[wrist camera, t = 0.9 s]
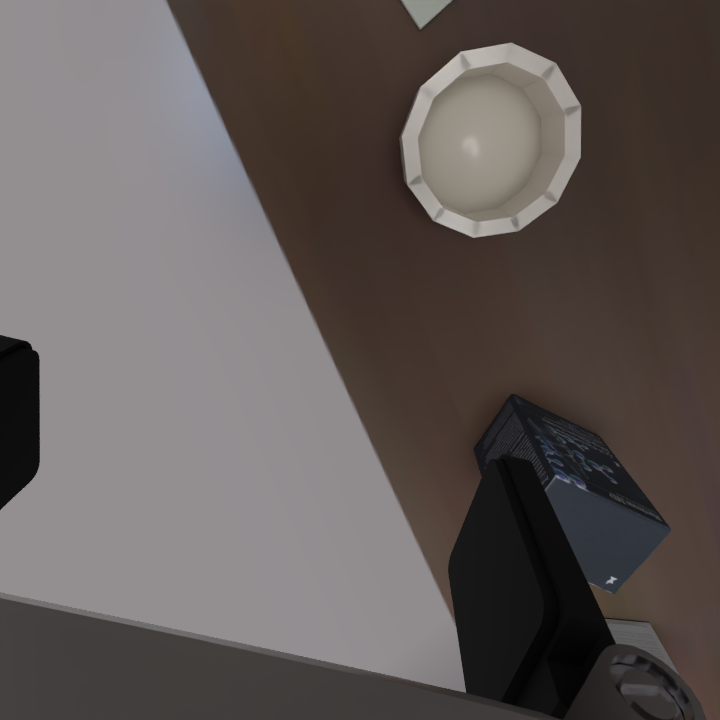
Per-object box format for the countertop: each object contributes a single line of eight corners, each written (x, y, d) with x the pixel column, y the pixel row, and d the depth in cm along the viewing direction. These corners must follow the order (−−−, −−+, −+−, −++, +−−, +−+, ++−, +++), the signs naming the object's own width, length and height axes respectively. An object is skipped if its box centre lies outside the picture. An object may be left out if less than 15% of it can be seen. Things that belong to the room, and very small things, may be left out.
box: (600, 434, 38) (676, 531, 28) (557, 489, 40) (613, 598, 31) (511, 390, 37) (557, 476, 27) (470, 449, 39) (500, 549, 29)
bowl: (497, 24, 29) (519, -1, 24) (579, 159, 31) (613, 161, 27) (370, 134, 31) (368, 132, 26) (456, 252, 34) (467, 268, 29)
